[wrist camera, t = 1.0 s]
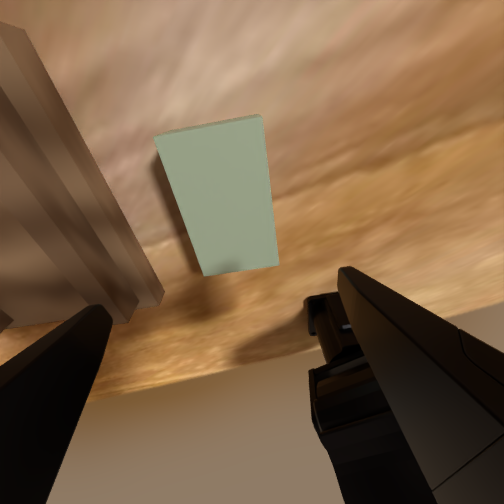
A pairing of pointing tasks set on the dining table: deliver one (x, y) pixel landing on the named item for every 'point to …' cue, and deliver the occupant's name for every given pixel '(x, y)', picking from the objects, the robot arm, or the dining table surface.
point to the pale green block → (223, 192)
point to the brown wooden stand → (57, 208)
